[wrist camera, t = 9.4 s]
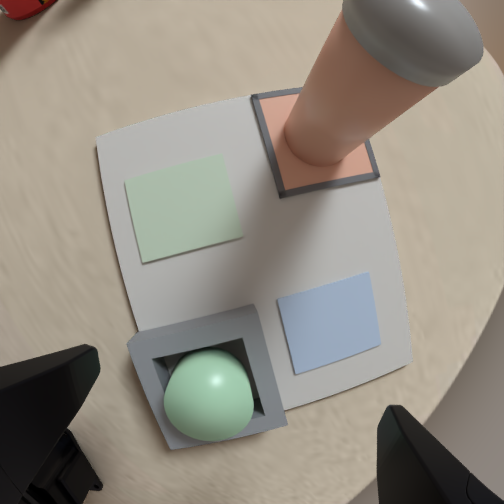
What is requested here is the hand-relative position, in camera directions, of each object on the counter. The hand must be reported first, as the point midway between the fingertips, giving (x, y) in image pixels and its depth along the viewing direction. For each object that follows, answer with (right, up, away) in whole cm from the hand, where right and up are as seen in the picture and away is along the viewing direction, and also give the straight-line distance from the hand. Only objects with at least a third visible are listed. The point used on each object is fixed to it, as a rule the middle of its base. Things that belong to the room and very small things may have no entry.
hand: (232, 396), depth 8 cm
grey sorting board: (+1, +4, +11) cm, 11 cm away
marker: (+5, +11, +10) cm, 16 cm away
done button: (-2, -3, +9) cm, 9 cm away
